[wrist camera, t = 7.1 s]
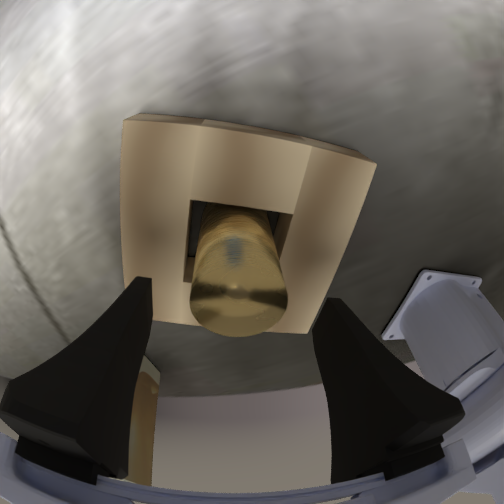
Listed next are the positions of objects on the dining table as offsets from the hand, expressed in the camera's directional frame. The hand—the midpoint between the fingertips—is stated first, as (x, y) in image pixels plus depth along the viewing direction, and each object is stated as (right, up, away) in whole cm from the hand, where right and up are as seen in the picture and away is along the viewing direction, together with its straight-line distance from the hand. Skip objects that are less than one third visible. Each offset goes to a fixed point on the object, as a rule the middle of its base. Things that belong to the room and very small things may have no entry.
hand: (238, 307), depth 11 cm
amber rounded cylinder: (0, +4, +5) cm, 7 cm away
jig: (-1, +4, +5) cm, 7 cm away
